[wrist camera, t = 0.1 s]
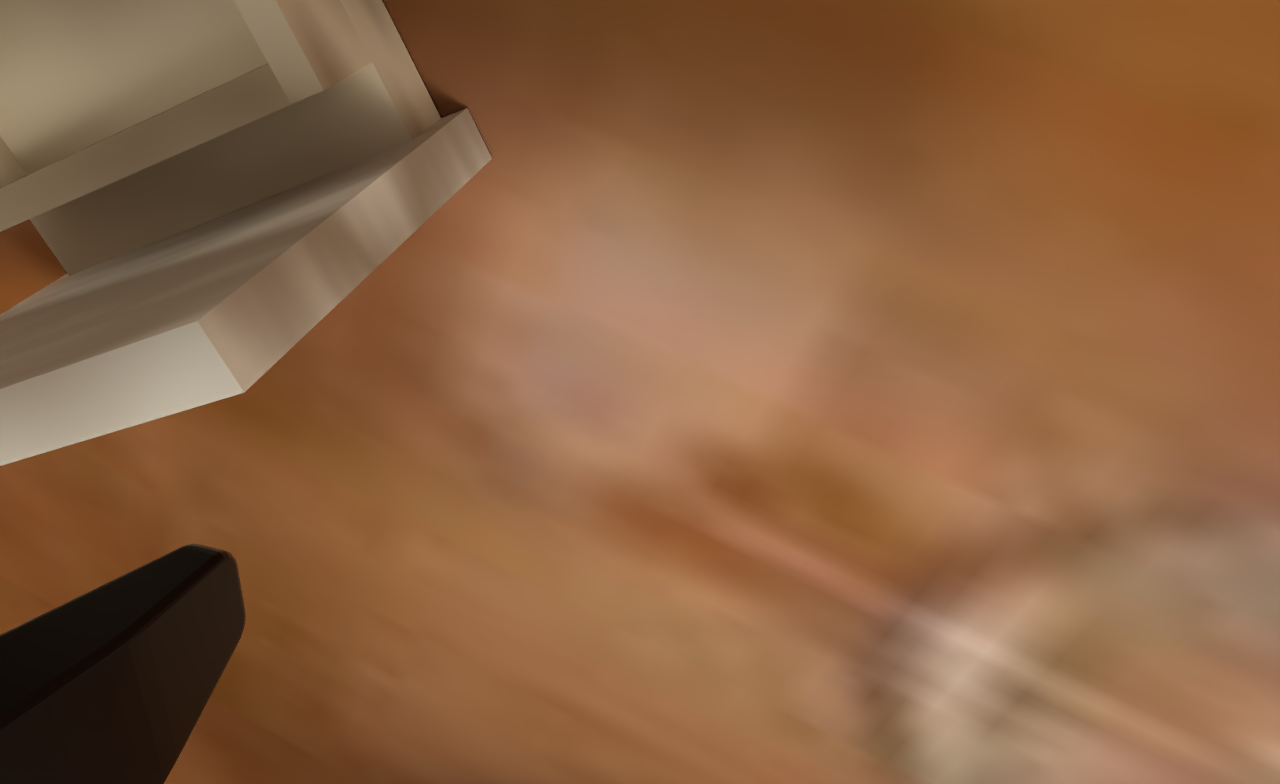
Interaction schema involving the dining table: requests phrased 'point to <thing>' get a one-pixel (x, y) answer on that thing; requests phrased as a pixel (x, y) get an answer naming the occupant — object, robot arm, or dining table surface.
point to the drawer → (199, 194)
